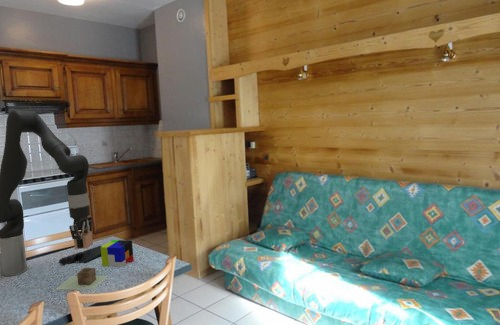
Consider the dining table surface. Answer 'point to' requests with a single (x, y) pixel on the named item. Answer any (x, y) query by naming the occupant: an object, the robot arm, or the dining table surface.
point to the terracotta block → (85, 240)
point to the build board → (73, 284)
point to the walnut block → (86, 276)
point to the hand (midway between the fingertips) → (83, 245)
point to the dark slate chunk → (82, 256)
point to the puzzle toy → (117, 253)
